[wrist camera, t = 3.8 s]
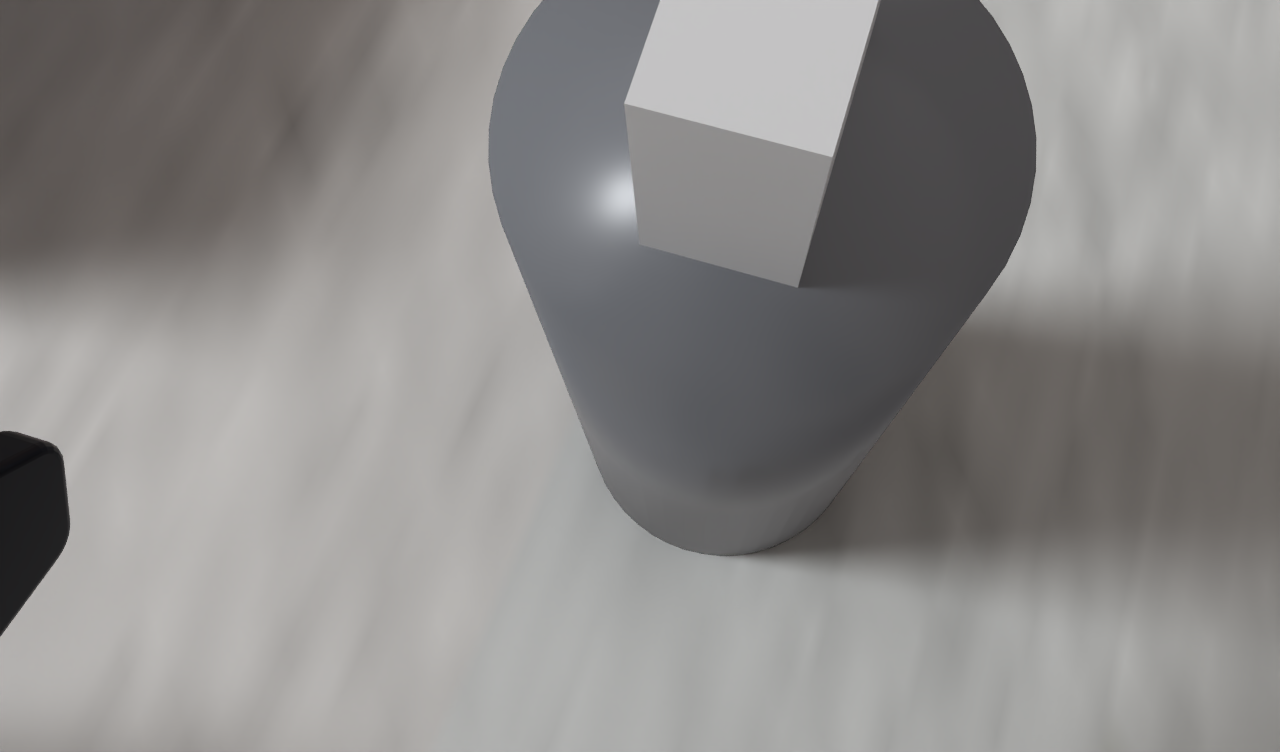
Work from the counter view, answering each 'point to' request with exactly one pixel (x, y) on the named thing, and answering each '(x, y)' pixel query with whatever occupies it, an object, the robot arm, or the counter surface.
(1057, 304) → the counter surface
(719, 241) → the gray bottle
